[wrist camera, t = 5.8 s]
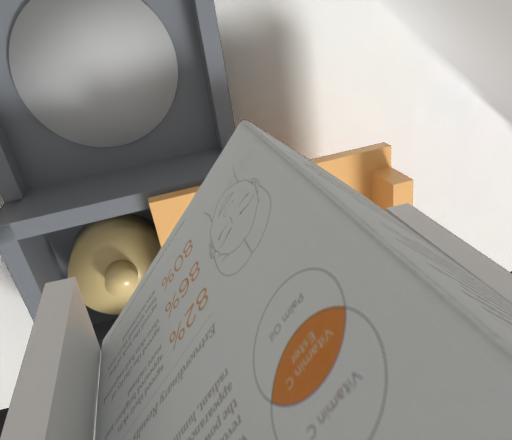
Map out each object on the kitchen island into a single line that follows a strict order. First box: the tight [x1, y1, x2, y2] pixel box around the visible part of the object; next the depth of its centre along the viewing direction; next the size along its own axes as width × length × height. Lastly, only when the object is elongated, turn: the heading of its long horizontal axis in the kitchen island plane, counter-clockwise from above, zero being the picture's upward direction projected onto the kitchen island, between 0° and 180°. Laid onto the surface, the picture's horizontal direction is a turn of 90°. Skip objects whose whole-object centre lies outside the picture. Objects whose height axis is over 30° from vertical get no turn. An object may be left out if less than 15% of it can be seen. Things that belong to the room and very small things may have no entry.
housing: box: [0, 0, 235, 350], centre depth 26 cm, size 14×25×6 cm, turn 8°
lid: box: [148, 142, 413, 248], centre depth 26 cm, size 14×12×3 cm
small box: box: [95, 120, 512, 440], centre depth 9 cm, size 8×6×10 cm
